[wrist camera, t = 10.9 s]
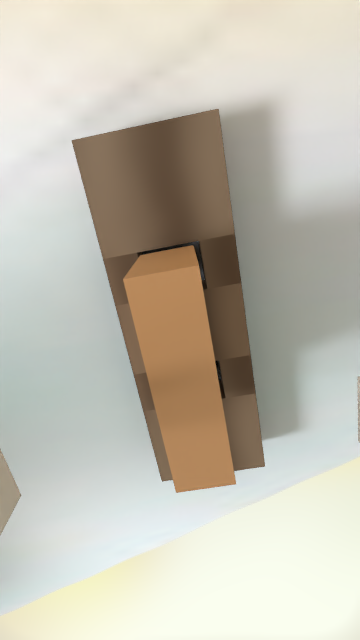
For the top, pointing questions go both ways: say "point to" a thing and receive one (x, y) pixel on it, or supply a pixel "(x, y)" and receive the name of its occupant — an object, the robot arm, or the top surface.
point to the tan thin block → (181, 366)
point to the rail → (168, 230)
